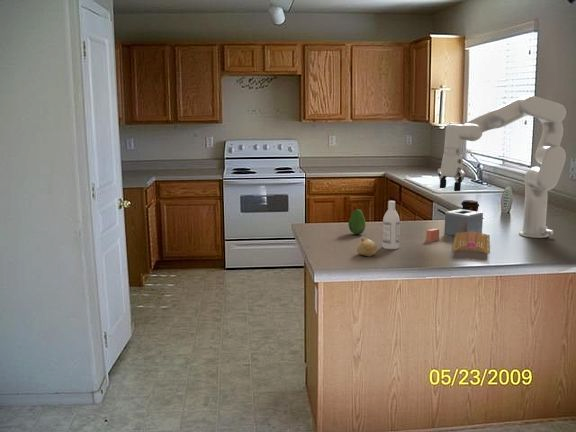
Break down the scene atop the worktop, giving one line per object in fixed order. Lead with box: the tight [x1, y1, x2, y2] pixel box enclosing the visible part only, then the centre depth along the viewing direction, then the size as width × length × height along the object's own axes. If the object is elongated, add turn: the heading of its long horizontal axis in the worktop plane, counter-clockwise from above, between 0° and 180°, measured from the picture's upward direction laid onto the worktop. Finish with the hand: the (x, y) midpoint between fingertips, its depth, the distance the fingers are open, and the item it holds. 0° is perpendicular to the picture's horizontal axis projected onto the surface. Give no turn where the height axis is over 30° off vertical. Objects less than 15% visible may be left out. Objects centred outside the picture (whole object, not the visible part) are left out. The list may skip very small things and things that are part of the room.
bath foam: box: [381, 200, 401, 250], centre depth 254 cm, size 7×7×20 cm
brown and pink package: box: [451, 231, 491, 261], centre depth 252 cm, size 35×14×6 cm, turn 162°
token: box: [425, 228, 440, 243], centre depth 269 cm, size 2×6×5 cm, turn 130°
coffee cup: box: [460, 199, 480, 212], centre depth 299 cm, size 9×8×13 cm
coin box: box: [443, 208, 484, 238], centre depth 279 cm, size 12×12×11 cm
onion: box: [356, 237, 378, 257], centre depth 243 cm, size 8×8×7 cm
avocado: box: [348, 208, 366, 235], centre depth 282 cm, size 8×8×12 cm
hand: (449, 189), depth 275 cm, fingers open, 9 cm apart
